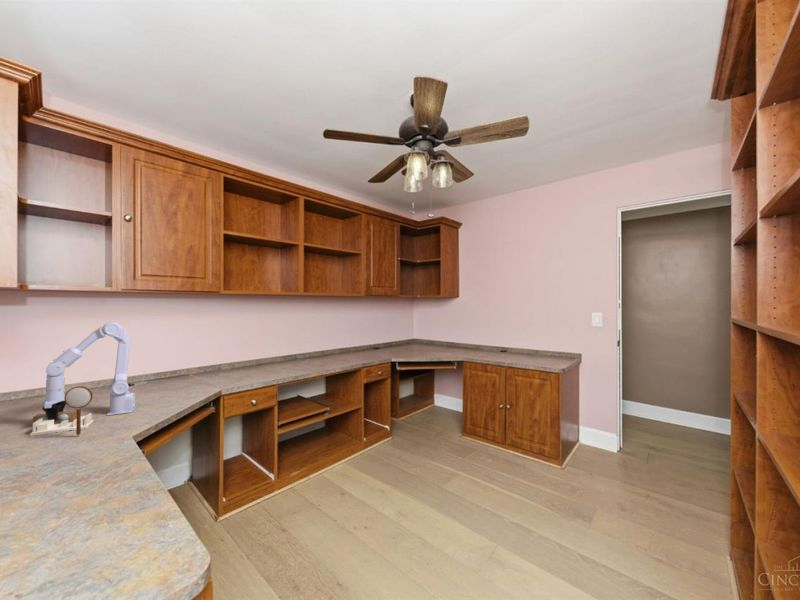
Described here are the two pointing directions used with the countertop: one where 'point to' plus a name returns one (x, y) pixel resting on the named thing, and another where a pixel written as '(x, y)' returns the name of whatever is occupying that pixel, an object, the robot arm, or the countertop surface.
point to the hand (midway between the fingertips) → (55, 420)
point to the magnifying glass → (78, 402)
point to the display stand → (59, 425)
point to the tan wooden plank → (61, 416)
